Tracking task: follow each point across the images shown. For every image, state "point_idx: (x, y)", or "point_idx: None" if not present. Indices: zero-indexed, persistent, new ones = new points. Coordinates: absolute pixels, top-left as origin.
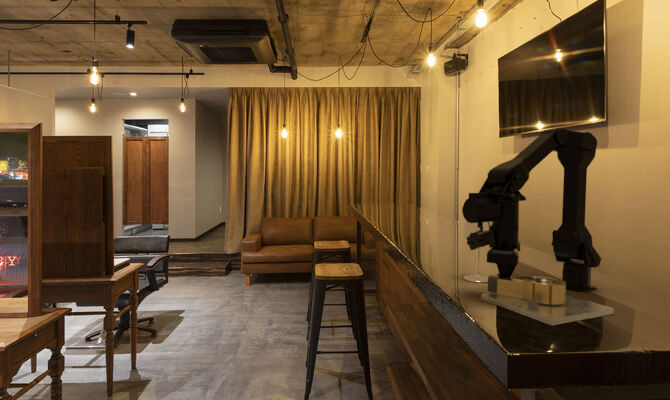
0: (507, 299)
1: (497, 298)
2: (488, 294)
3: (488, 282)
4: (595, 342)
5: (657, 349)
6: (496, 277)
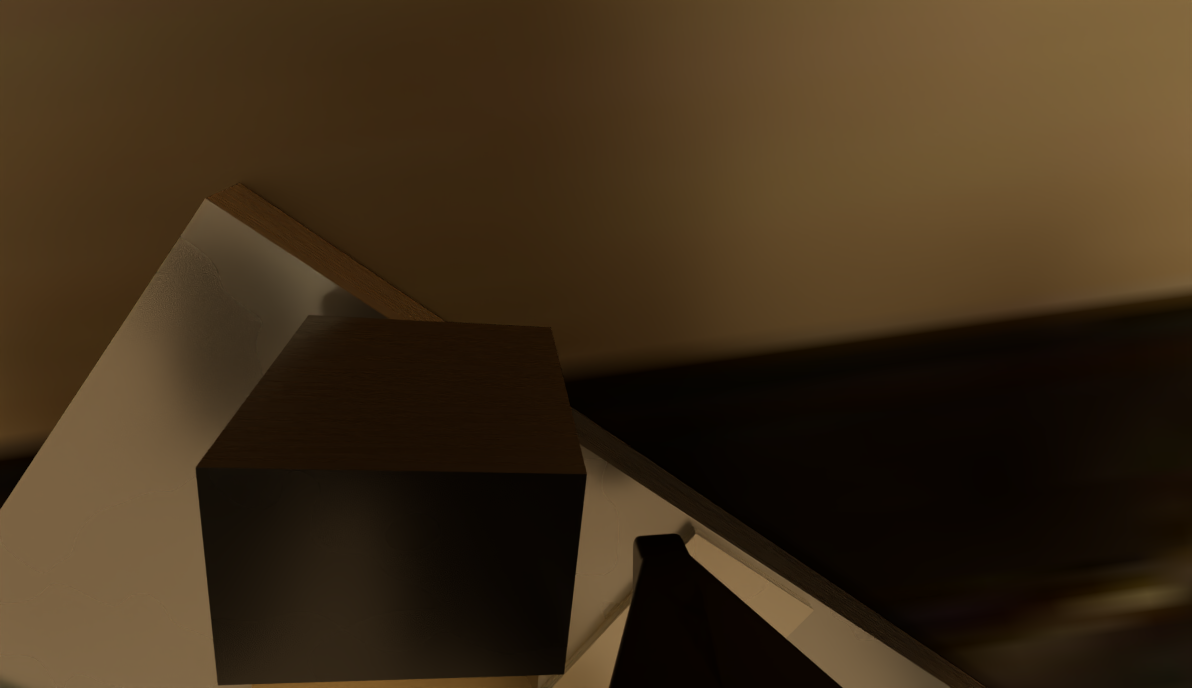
0: (151, 615)
1: (91, 491)
2: (260, 326)
3: (255, 407)
4: None
5: None
6: (319, 653)
